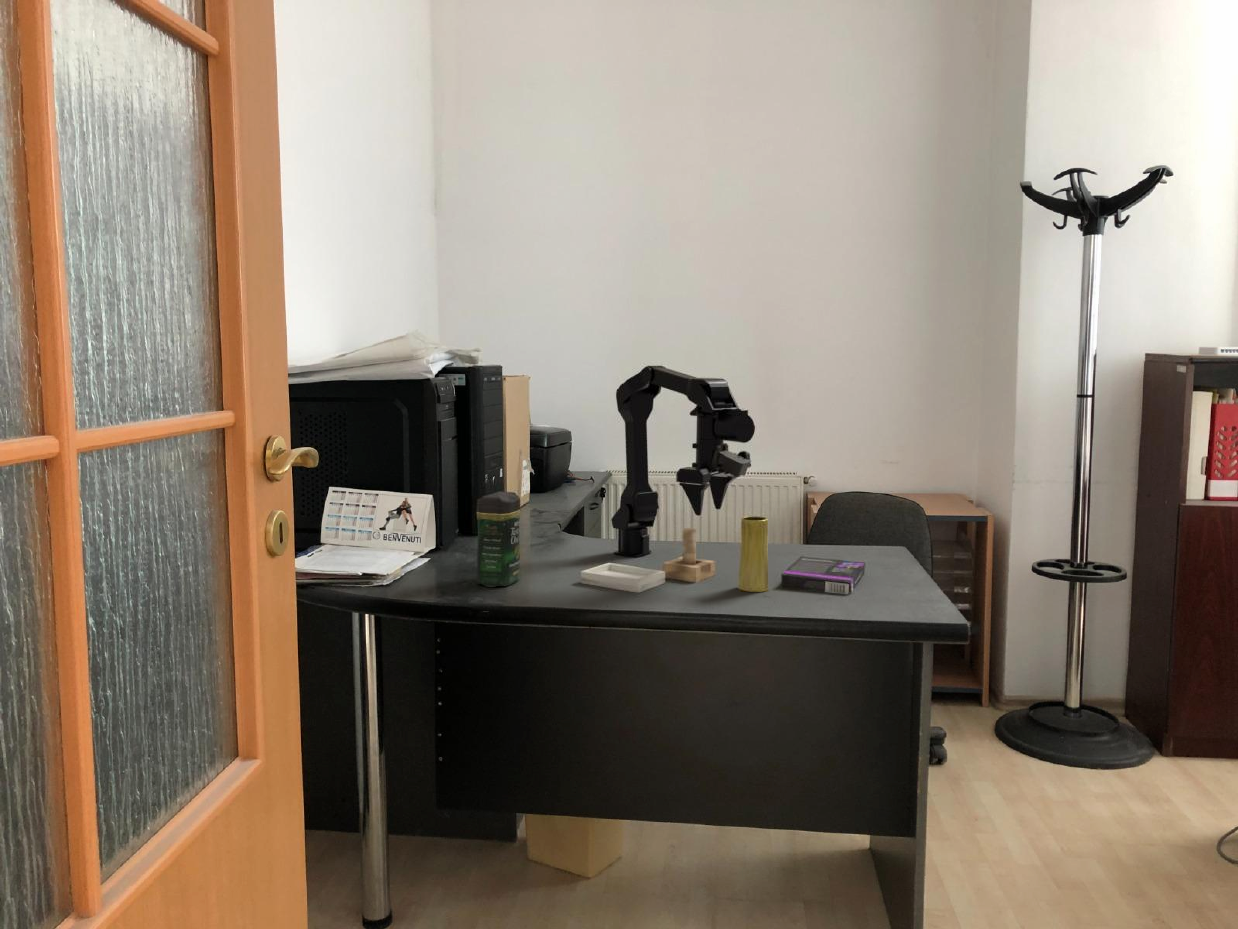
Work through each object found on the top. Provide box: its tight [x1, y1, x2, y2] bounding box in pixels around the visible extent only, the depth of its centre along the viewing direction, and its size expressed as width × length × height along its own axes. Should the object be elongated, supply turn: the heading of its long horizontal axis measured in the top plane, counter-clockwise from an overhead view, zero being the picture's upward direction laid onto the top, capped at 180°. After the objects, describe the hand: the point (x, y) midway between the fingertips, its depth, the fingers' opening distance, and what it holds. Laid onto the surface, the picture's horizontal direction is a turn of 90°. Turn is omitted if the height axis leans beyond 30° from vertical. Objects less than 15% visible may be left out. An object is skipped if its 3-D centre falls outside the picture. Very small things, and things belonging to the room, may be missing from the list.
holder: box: [662, 556, 716, 583], centre depth 208 cm, size 8×8×3 cm
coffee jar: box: [476, 490, 522, 588], centre depth 201 cm, size 10×8×19 cm
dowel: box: [681, 527, 697, 565], centre depth 208 cm, size 3×3×10 cm
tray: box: [580, 562, 666, 594], centre depth 202 cm, size 14×10×2 cm
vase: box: [737, 515, 769, 593], centre depth 197 cm, size 6×6×14 cm
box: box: [780, 555, 866, 595], centre depth 205 cm, size 14×4×20 cm
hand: (708, 512), depth 209 cm, fingers open, 9 cm apart
